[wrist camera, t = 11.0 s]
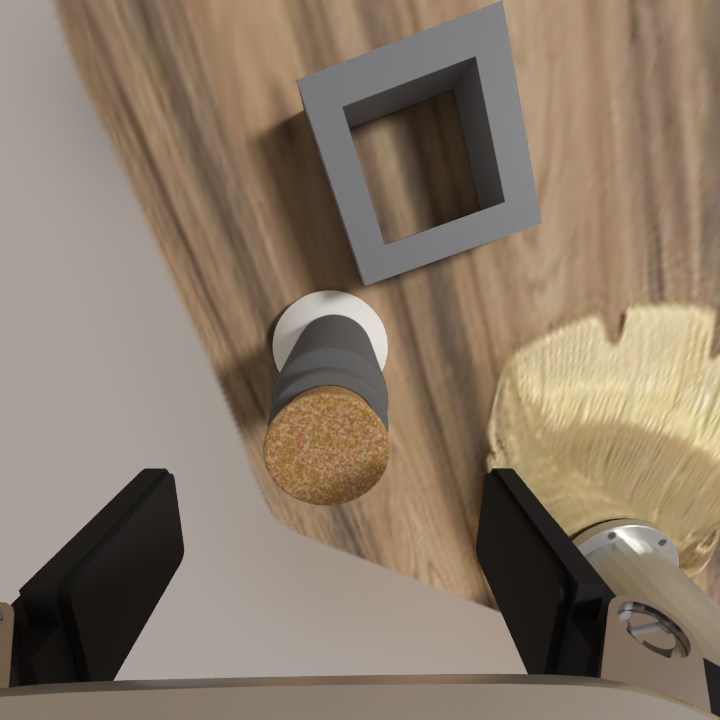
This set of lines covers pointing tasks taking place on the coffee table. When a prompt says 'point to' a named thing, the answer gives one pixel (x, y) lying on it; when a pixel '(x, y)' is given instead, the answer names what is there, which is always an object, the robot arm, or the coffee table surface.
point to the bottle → (328, 415)
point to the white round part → (321, 306)
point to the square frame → (405, 88)
